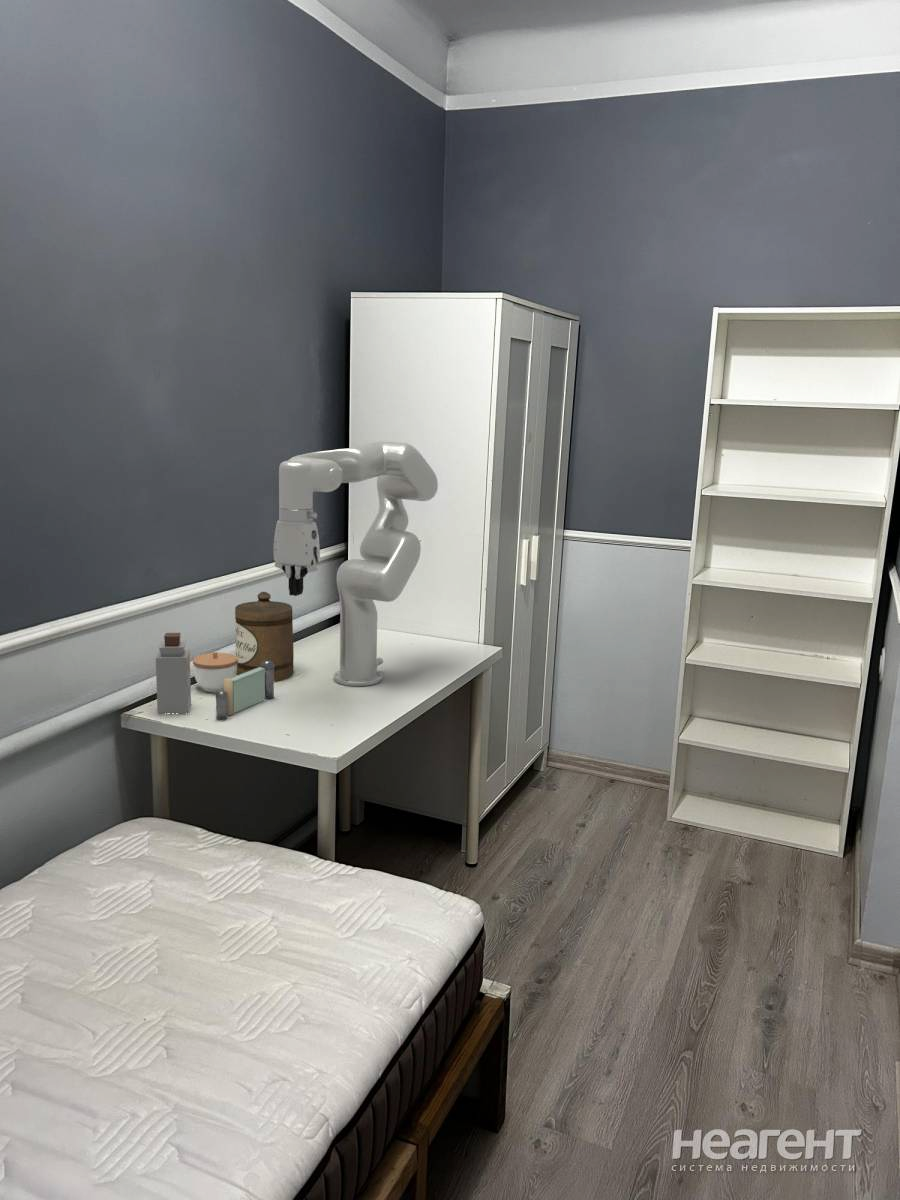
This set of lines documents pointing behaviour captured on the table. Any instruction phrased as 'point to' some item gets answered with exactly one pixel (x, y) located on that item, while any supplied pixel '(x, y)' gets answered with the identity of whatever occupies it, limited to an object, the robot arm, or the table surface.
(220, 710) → the post
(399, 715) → the table surface
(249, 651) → the wooden container
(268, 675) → the hinge post
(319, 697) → the table surface
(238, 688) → the gate
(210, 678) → the lidded jar
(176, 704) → the perfume bottle
